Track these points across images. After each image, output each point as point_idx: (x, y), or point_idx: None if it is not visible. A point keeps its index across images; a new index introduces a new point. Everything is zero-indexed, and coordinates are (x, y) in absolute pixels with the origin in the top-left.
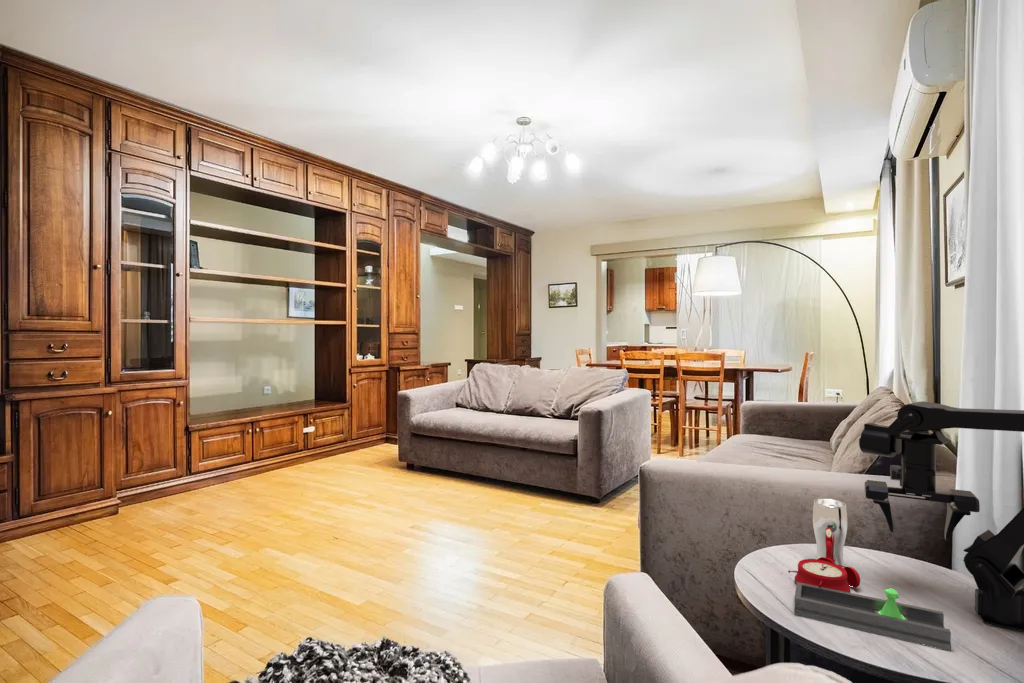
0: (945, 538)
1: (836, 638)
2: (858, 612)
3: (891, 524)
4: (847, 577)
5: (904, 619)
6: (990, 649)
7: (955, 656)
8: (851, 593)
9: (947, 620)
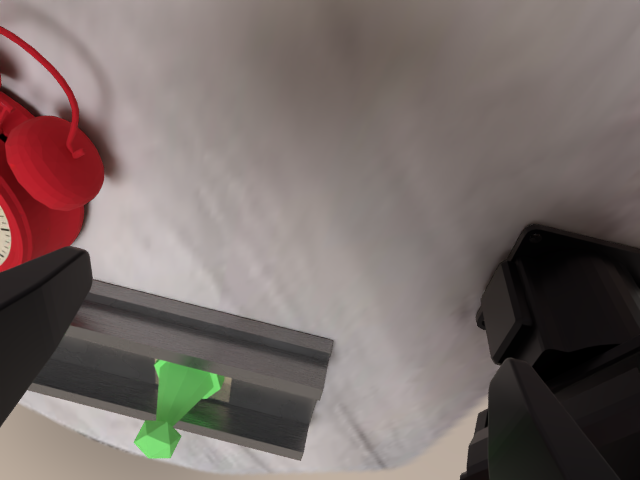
0: (490, 397)
1: (83, 406)
2: (100, 407)
3: (28, 370)
4: (52, 116)
5: (217, 388)
6: (406, 413)
7: (308, 436)
8: (71, 327)
9: (364, 312)
